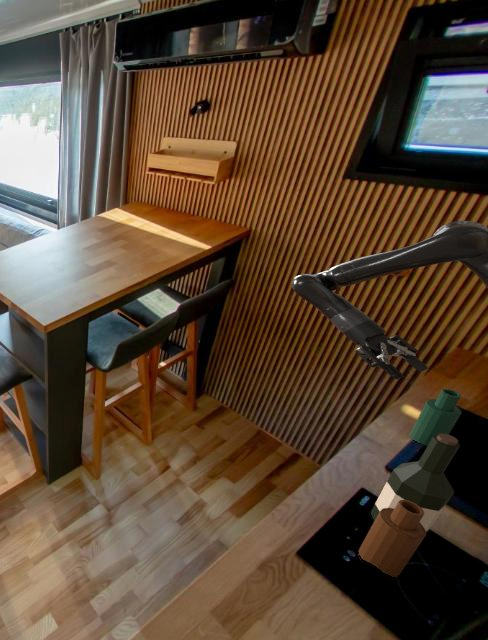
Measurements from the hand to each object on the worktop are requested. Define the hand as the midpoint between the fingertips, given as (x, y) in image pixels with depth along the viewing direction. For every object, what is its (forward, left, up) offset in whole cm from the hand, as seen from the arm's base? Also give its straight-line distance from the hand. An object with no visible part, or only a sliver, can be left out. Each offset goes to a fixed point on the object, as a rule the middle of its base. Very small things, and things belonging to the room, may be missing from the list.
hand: (412, 374), depth 98 cm
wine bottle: (+14, +33, -21) cm, 42 cm away
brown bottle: (+22, +44, -21) cm, 53 cm away
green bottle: (-6, +3, -21) cm, 22 cm away
